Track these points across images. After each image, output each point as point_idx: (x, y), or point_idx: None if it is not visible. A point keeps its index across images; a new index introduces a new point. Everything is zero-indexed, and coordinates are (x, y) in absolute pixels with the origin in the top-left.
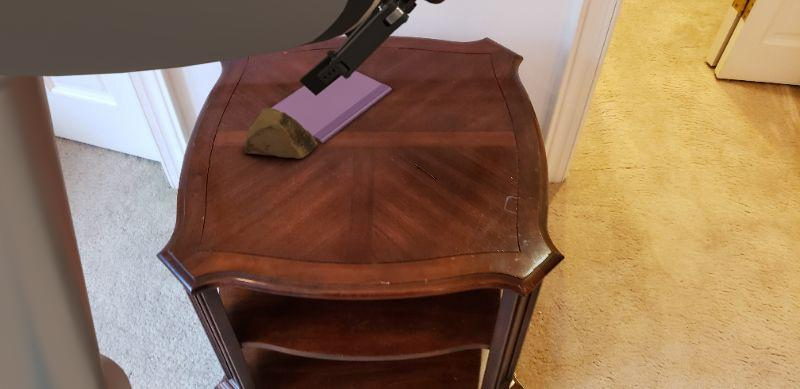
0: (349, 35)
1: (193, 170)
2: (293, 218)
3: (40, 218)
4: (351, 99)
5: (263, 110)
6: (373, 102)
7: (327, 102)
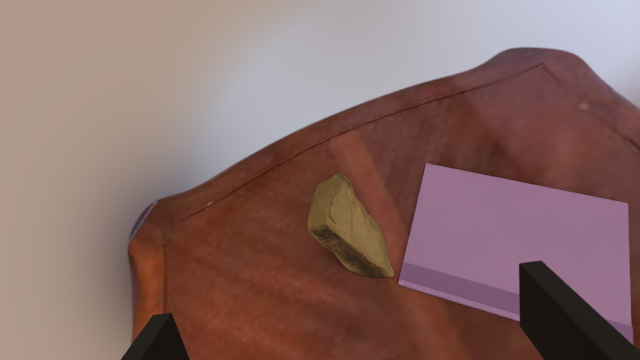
0: (525, 332)
1: (279, 146)
2: (232, 320)
3: None
4: None
5: (341, 183)
6: None
7: (499, 242)
